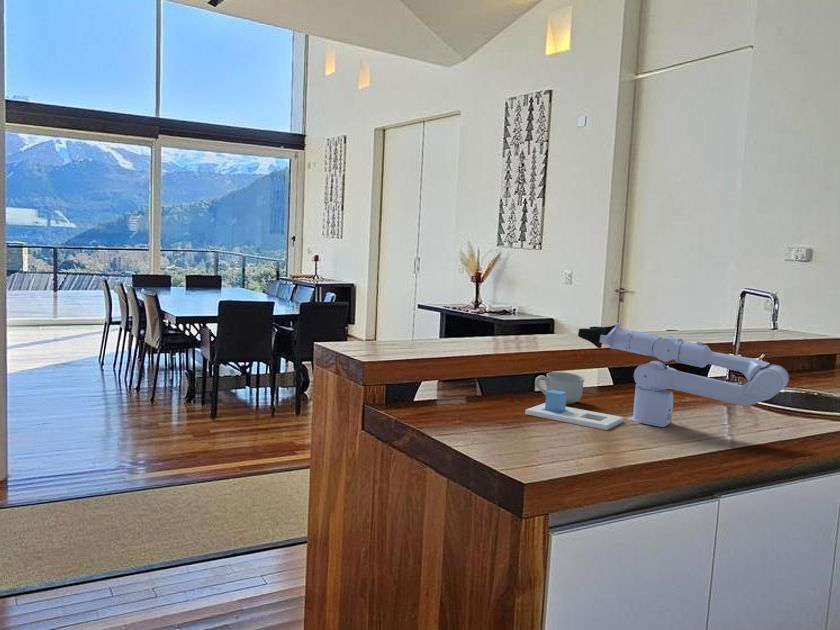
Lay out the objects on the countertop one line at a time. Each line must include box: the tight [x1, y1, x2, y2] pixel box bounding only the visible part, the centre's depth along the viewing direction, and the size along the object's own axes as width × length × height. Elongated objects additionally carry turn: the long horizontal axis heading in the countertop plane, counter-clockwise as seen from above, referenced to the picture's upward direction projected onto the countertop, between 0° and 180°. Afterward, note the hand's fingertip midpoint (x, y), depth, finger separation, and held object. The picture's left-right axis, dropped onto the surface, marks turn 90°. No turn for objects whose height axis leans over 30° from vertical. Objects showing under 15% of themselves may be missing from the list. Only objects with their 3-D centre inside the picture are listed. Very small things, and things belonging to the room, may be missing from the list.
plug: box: [544, 390, 567, 413], centre depth 187 cm, size 4×4×6 cm
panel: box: [524, 402, 625, 431], centre depth 185 cm, size 22×12×2 cm, turn 55°
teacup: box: [534, 371, 585, 405], centre depth 205 cm, size 14×11×8 cm
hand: (584, 331), depth 196 cm, fingers open, 7 cm apart
